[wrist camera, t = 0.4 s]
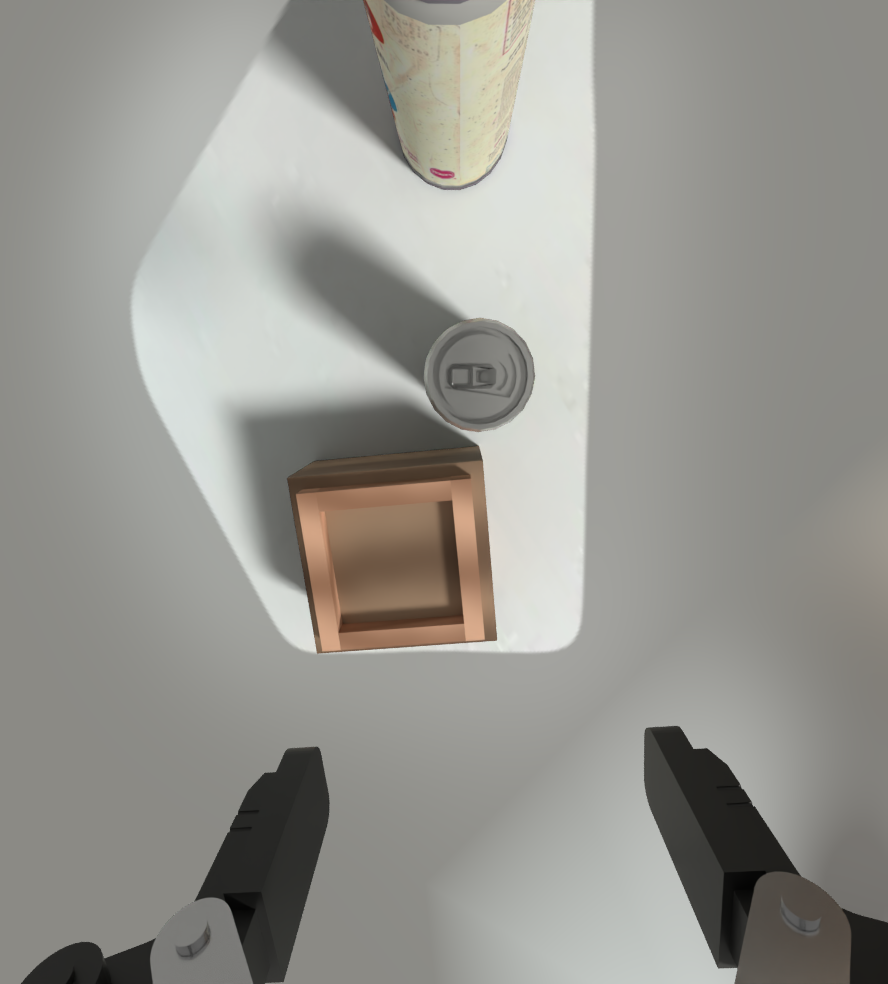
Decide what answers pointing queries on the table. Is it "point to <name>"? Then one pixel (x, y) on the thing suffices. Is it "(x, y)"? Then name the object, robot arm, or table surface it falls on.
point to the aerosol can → (451, 80)
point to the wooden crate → (395, 549)
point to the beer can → (479, 374)
